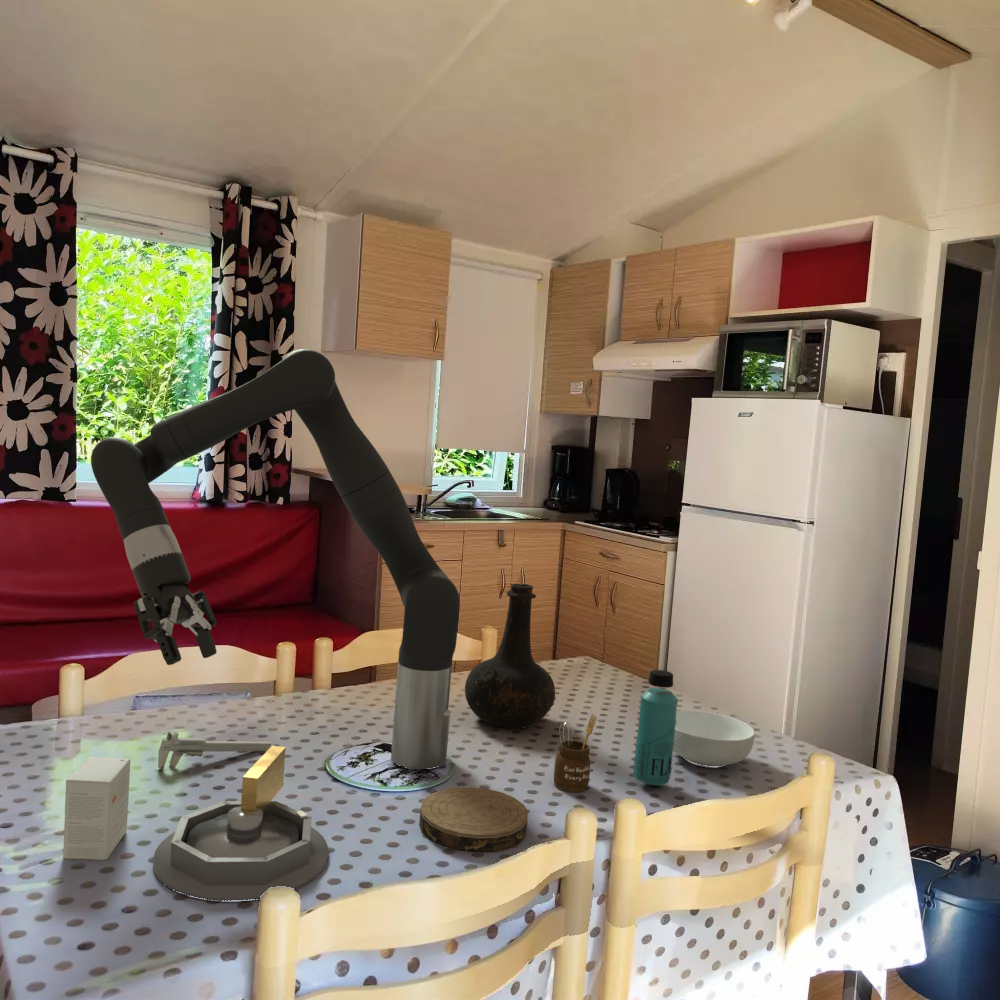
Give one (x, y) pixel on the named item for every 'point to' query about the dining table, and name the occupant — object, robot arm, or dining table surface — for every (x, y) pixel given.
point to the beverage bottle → (656, 731)
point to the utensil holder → (573, 762)
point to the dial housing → (239, 860)
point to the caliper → (202, 748)
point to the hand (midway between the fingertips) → (193, 659)
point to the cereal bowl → (711, 738)
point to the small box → (96, 808)
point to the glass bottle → (512, 673)
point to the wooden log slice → (473, 820)
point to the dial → (249, 817)
